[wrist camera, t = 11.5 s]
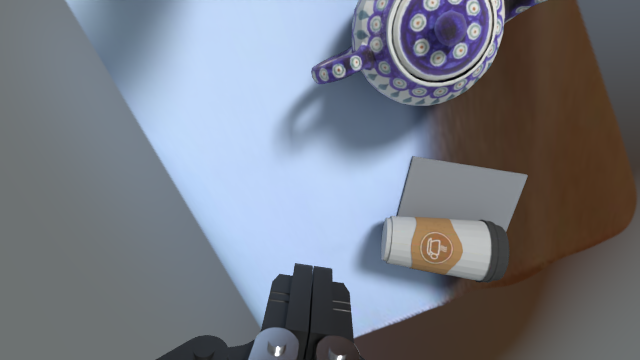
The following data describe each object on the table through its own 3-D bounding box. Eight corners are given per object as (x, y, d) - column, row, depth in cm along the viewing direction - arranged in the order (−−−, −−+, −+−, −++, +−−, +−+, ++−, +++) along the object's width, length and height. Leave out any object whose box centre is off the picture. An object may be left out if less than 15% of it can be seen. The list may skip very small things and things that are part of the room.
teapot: (331, 124, 47) (332, 157, 33) (292, 2, 42) (275, -20, 28) (524, 63, 44) (617, 70, 30) (508, -77, 39) (609, -146, 25)
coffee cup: (391, 209, 45) (514, 223, 44) (384, 207, 53) (487, 219, 52) (384, 276, 45) (507, 292, 43) (378, 263, 53) (481, 276, 52)
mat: (389, 244, 53) (389, 246, 53) (412, 156, 48) (413, 157, 48) (492, 260, 54) (494, 262, 54) (526, 174, 49) (527, 175, 49)
